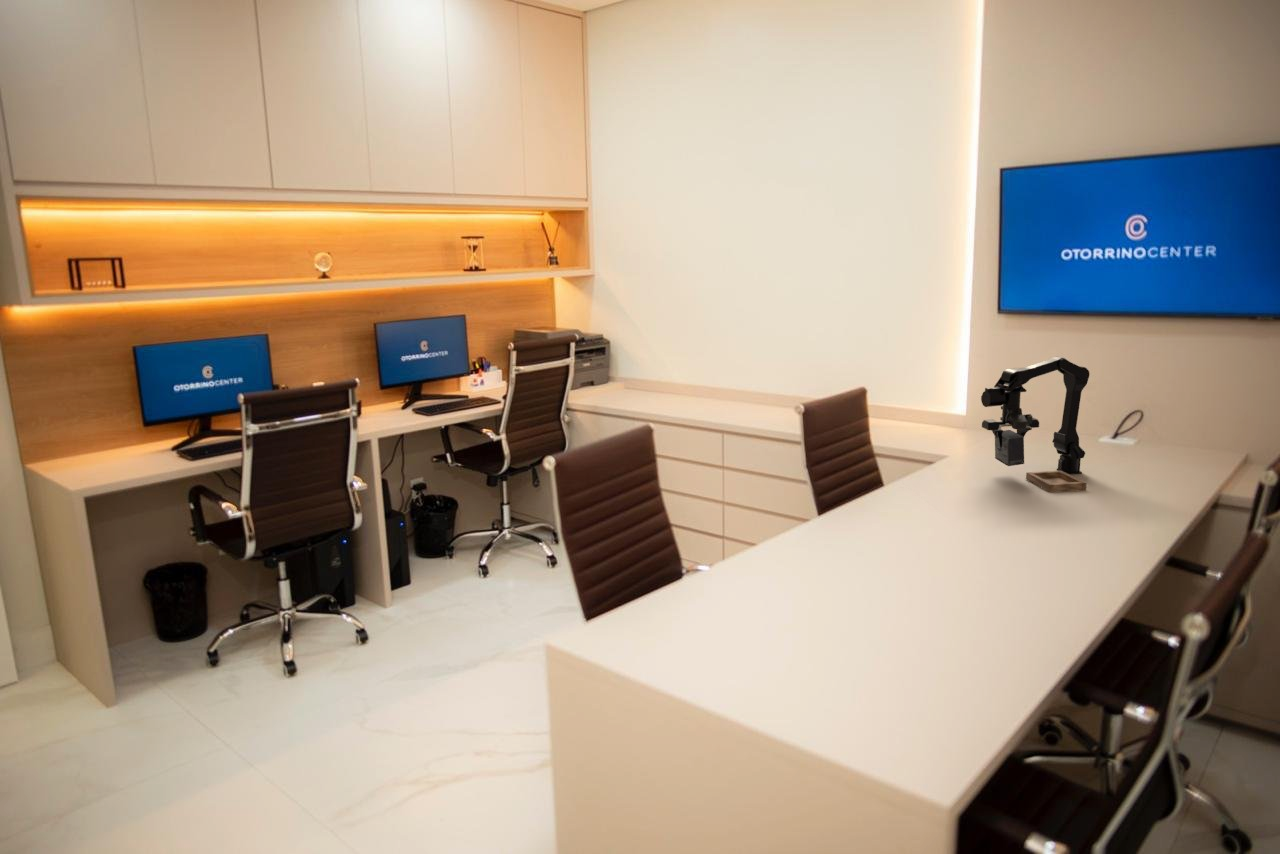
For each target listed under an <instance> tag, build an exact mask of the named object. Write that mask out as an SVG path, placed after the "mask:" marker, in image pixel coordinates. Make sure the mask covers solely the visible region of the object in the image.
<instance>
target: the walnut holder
mask: <svg viewBox="0 0 1280 854" xmlns="http://www.w3.org/2000/svg"><path fill="white" fill-rule="evenodd" d="M1026 479H1027V480H1026ZM1025 480H1026V481H1028V480H1029V481H1028V482H1030V481H1031V482H1030V483H1032V482H1033V483H1034V484H1033V483H1032V484H1033V485H1035V484H1036V486H1037V485H1038V486H1037V487H1039V486H1040V487H1039V488H1041V487H1042V488H1041V489H1043V490H1044V489H1045V490H1044V491H1046V490H1047V492H1048V491H1049V492H1048V493H1057V492H1058V491H1062V492H1076V491H1077V490H1079V491H1087V482H1085V481H1084V480H1082V479H1079V478H1078V477H1076V476H1073V475H1072V474H1067V473H1065V472H1063V471H1058V470H1046V471H1029V472H1028V471H1027V472H1026V475H1025ZM1077 492H1078V491H1077ZM1058 493H1059V492H1058Z"/></svg>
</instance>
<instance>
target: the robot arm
mask: <svg viewBox="0 0 1280 854" xmlns="http://www.w3.org/2000/svg"><path fill="white" fill-rule="evenodd" d="M1055 371H1057V372H1059V373H1060V374H1062V375H1063V383H1064V386H1065V389H1066V391H1065V399H1064V405H1063V413H1062V419H1061V426H1060V429H1059V430H1058V431H1054V433H1053V438H1052V439H1053V440H1052V444H1053V447H1054V448H1055V449H1056V453H1057V454H1058V455H1059V458H1058V459H1057V460H1058V461H1057V462H1058V463H1057V468H1056V471H1063V472H1065V473H1067V474H1069V475H1078V474H1080V475H1081V474H1083V471H1081V459H1084V457H1085V455H1086V451H1084V449H1083V448H1082V447H1081V446H1080V437H1079V434H1078V432H1077V426H1078V417H1079V410H1080V405H1081V398H1082V397H1081V396H1082V392H1083V390H1084V388H1085V387H1086V386H1087V384H1088V381H1089V379H1090V370H1089V369H1088V368H1087V367H1084V366H1079V365H1077V364H1076V363H1073V362H1071V361H1070V360H1068V359H1066V358H1065V357H1060V356H1055V357H1054V356H1053V357H1052V358H1050V359H1047V360H1044V361H1040V362H1037V363H1034V364H1032V365H1029V366H1026V367H1013V368H1007V369H1004V370H1003V371H1002V373H1001V376H1000V378H999V379H998V380H997V382H996V383H995V385H994V386H993V387H985V389H984V391H983V392H982V393H981V396H980V400H981V404H982V406H983V407H984V408H985V407H986V408H989V407H1000V409H1001V411H1002V413H1001V417H999V418H1000V421H998V420H995V419H992V418H991V419H983V420H982V422H981V428H982V429H985V430H987V431H991V432H992V434H993V436H994V439H995V438H996V440H997V443H998V445H999V447H1000V448H1001V447H1002V433H1003V431H1004V430H1003V429H1002V428H1003V427H1004V428H1005V427H1011V428H1012V429H1013V430H1016V433H1017V434H1019V435H1021V436H1023V437H1024V438H1025V436H1026V434H1027V432H1030V431H1032V430H1033V429H1035V428H1039V427H1040V421H1039V419H1037V418H1035V417H1033V415H1032V414H1031V413H1029V414H1023V409H1022V408H1021V393H1026V392H1027V389H1026V388H1025V387H1024V385H1025V384H1028V382H1029V381H1030V380H1031V379H1034V378H1037V377H1040V376H1043V375H1046V374H1049V373H1052V372H1055Z"/></svg>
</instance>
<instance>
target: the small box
mask: <svg viewBox="0 0 1280 854" xmlns="http://www.w3.org/2000/svg"><path fill="white" fill-rule="evenodd" d="M1024 439H1025V436H1024V437H1023V436H1021V435H1019V434H1017V432H1015V431H1013V430H1012V429H1008V430H1007V429H1006V430H1003V433H1002V447H1001V448H1000V447H999V445H998V443H997V440H996V438H995V437H994V459H995V460H997V461H999V462H1000V463H1002V464H1004V465H1005V466H1007V467H1012V466H1020V465H1024V464H1025V448H1024V447H1025V440H1024Z"/></svg>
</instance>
